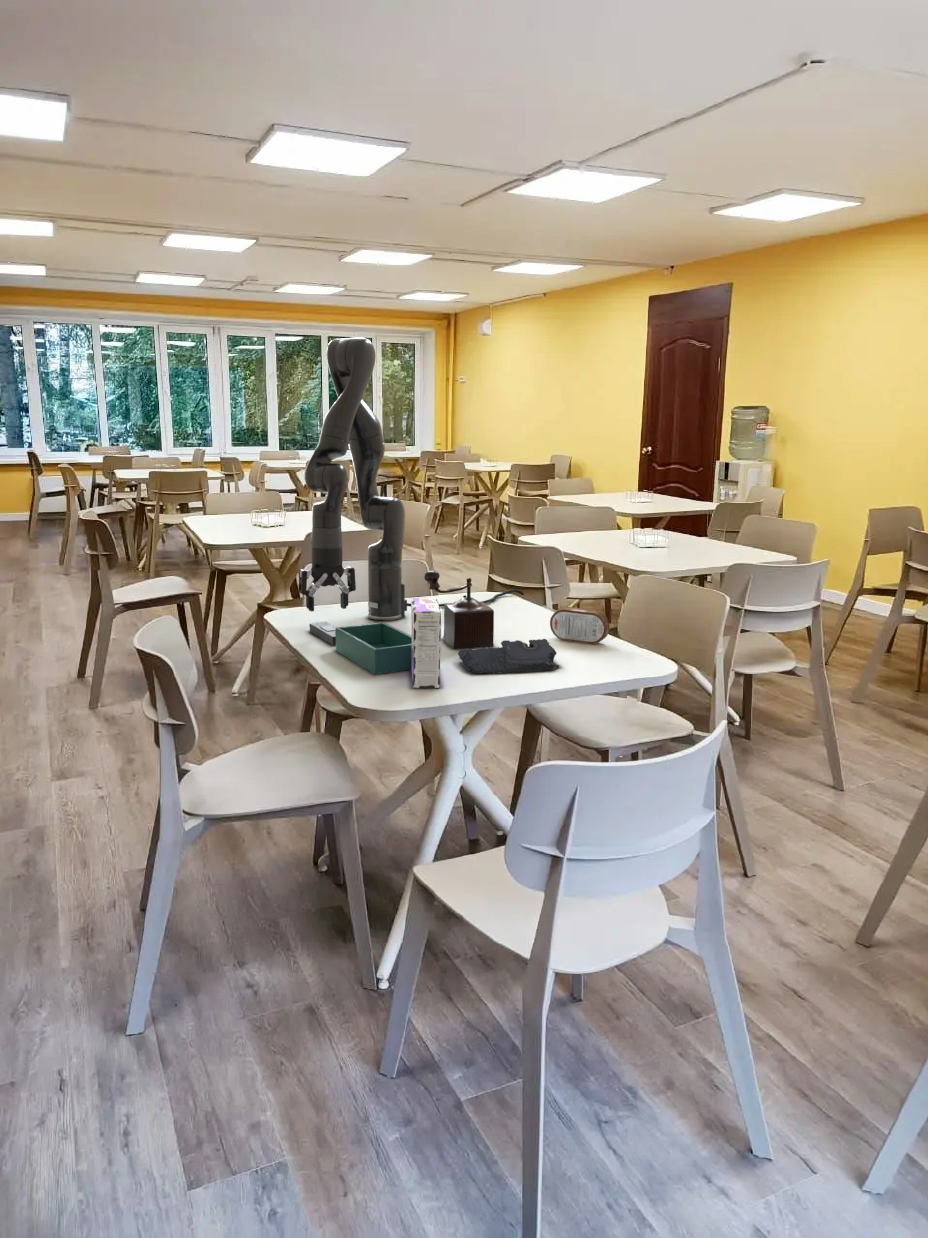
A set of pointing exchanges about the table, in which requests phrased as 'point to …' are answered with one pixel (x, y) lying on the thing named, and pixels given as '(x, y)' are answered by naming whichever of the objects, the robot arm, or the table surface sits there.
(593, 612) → the tin
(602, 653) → the table surface
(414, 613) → the candy box
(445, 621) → the manual coffee grinder
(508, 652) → the dark slate chunk
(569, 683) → the table surface
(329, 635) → the remote
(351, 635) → the bin
